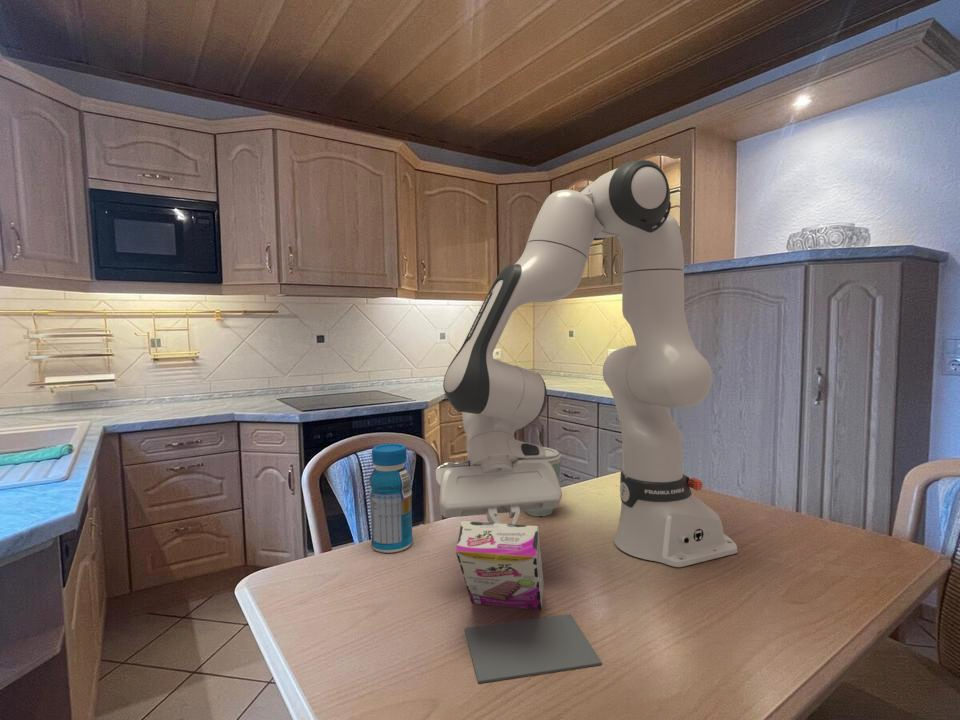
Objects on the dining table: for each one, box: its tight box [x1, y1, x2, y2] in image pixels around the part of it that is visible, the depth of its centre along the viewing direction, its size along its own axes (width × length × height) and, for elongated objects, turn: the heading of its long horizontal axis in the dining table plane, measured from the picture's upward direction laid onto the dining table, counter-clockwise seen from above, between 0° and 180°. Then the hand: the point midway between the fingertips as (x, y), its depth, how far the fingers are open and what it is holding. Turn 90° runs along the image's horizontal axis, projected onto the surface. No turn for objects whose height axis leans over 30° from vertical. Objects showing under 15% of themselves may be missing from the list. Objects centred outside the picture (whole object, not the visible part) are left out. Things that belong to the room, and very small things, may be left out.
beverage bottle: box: [368, 443, 414, 554], centre depth 99 cm, size 8×8×20 cm
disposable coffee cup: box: [525, 446, 563, 518], centre depth 115 cm, size 11×11×15 cm
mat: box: [464, 613, 603, 684], centre depth 67 cm, size 16×11×1 cm
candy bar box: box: [455, 520, 544, 611], centre depth 72 cm, size 11×5×16 cm
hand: (507, 537), depth 77 cm, fingers closed
